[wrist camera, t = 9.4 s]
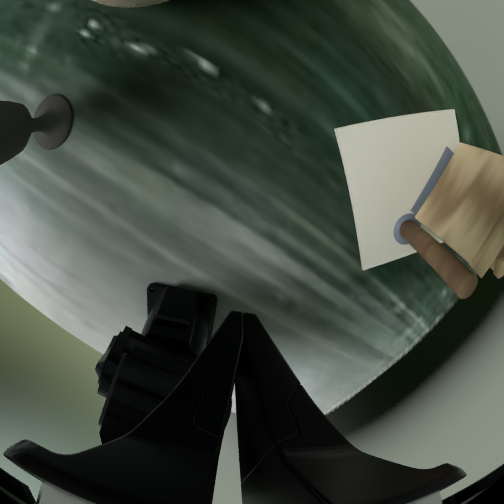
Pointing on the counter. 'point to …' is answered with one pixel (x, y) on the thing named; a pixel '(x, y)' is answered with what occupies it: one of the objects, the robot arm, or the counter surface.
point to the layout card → (394, 176)
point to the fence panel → (469, 206)
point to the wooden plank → (446, 259)
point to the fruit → (129, 2)
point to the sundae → (33, 125)
